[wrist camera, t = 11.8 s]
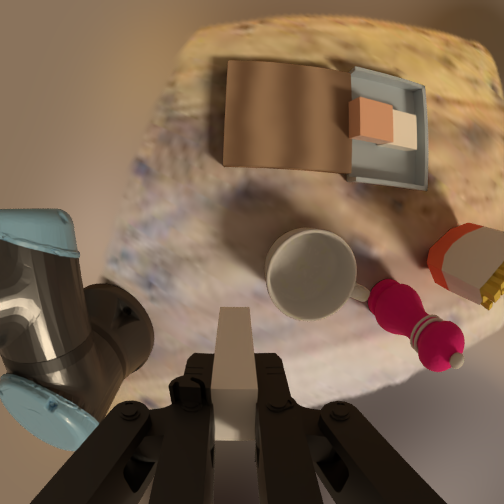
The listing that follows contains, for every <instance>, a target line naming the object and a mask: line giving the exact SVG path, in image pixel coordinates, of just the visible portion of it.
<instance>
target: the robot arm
mask: <svg viewBox="0 0 504 504" xmlns="http://www.w3.org/2000/svg"><path fill="white" fill-rule="evenodd" d="M79 257H80V252H79V251H78V250H77V244H76V238H75V231H74V224H73V221H72V219H71V217H70V215H69V214H68V213H67V212H65V211H63V210H61V209H0V355H1V357H2V359H3V363H4V365H5V367H6V370H7V373H6V374H3V375H2V376H1V378H0V399H1V401H2V402H3V404H4V406H5V407H6V409H7V410H8V411H9V413H10V414H11V415H12V416H13V417H14V419H15V420H16V421H17V422H18V423H19V424H20V425H22V426H23V427H24V428H25V429H27V430H28V431H29V432H30V433H32V434H33V435H34V436H36V437H37V438H39V439H40V440H42V441H44V442H46V443H48V444H50V445H52V446H55V447H57V448H60V449H64V450H68V451H75V452H74V454H73V455H72V456H71V457H70V458H69V459H68V460H67V462H66V463H65V464H64V465H63V466H62V467H61V468H60V469H59V471H58V472H57V473H56V474H55V475H54V476H53V477H52V479H51V480H50V481H49V482H48V483H47V484H46V486H45V487H44V488H43V489H42V490H41V491H40V493H39V494H38V495H37V496H36V497H35V498H34V499H33V500H32V502H31V503H30V504H138V503H139V501H140V499H141V498H142V496H143V494H144V493H145V491H146V489H147V487H148V486H149V484H150V482H151V481H152V479H153V477H154V481H153V486H152V490H151V495H150V500H149V504H213V491H214V468H215V444H214V443H215V440H235V441H236V440H237V441H238V440H239V441H242V440H255V439H256V449H255V462H256V465H257V478H258V490H259V501H260V504H323V500H322V496H321V492H320V489H319V485H318V481H317V477H316V473H317V475H318V477H319V478H320V480H321V481H322V483H323V484H324V486H325V488H326V489H327V491H328V492H329V494H330V495H331V497H332V498H333V500H334V501H335V503H336V504H447V503H446V502H445V501H444V500H443V499H442V498H441V497H440V496H439V495H438V494H437V493H436V492H435V491H434V490H433V489H432V488H431V487H430V486H429V485H428V484H427V483H426V482H425V481H424V480H423V479H422V478H421V477H420V475H418V473H417V472H416V471H415V470H414V469H413V468H412V467H411V466H410V465H409V464H408V463H407V462H406V461H405V460H404V459H403V458H402V457H401V456H400V454H399V453H398V452H397V451H396V450H395V449H394V448H393V447H392V446H391V445H390V444H389V443H388V442H387V441H386V440H385V439H384V437H382V435H381V434H380V433H379V432H378V431H377V430H376V429H375V428H374V427H373V426H372V424H371V423H370V422H369V421H368V420H367V419H366V418H365V417H364V416H363V415H362V413H361V412H360V411H359V410H358V409H357V408H356V407H355V406H353V405H352V404H350V403H347V402H343V401H334V402H330V403H328V404H326V405H324V407H323V408H322V409H321V410H316V409H310V408H305V407H302V406H300V405H298V404H297V403H296V401H295V400H294V399H293V398H292V397H291V395H290V391H289V387H288V383H287V379H286V375H285V371H284V368H283V363H282V359H281V358H280V357H279V356H278V355H277V354H276V353H254V348H253V338H252V329H251V319H250V309H249V307H220V313H219V321H218V329H217V338H216V346H215V354H205V353H194V354H193V355H192V356H190V357H189V358H188V360H187V364H186V368H185V372H184V375H183V376H180V377H177V378H175V379H174V380H172V381H171V383H170V384H169V391H170V397H171V402H172V404H171V405H170V406H167V407H164V408H160V409H152V410H149V409H148V408H147V407H146V405H145V404H143V403H141V402H138V401H124V402H122V403H119V404H117V405H116V406H115V407H114V408H113V409H112V410H111V411H110V412H109V413H108V415H107V416H106V414H107V412H108V410H109V408H110V406H111V404H112V402H113V400H114V398H115V396H116V394H117V392H118V390H119V388H120V386H121V384H122V382H123V380H124V379H125V378H126V377H128V376H129V375H130V374H131V373H133V372H135V371H137V370H138V369H140V368H141V367H142V366H143V365H144V364H145V362H146V361H147V359H148V357H149V355H150V353H151V351H152V349H153V345H154V330H153V326H152V323H151V320H150V318H149V316H148V314H147V312H146V311H145V309H144V308H143V307H142V305H141V304H140V303H139V302H138V301H137V300H136V299H135V298H134V297H133V296H132V295H130V294H129V293H127V292H126V291H124V290H122V289H120V288H118V287H116V286H113V285H109V284H93V285H89V286H87V287H85V288H84V289H83V284H82V278H81V271H80V265H79ZM105 416H106V417H105ZM315 472H316V473H315ZM154 475H155V476H154Z"/></svg>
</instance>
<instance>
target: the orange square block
mask: <svg viewBox="0 0 504 504" xmlns="http://www.w3.org/2000/svg"><path fill="white" fill-rule="evenodd" d="M348 103H349V139H355V140H361V141H366V142H372V143H377V144H386V143H392V142H393V105H389V104H386V103H382V102H378V101H375V100H371V99H367V98H363V97H358V98H356V99H354V100H352V101H350V102H348Z"/></svg>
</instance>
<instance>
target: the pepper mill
mask: <svg viewBox="0 0 504 504" xmlns="http://www.w3.org/2000/svg"><path fill="white" fill-rule="evenodd" d="M368 306H369V309H370V311H371V312H372V313H373V314H374V315H375V317H376V320H377V322H378V324H379V325H380V326H381V327H382V328H383V329H384V330H386V331H388V332H390V333H393V334H398V335H404V336H407V337H408V338H409V339H410V344H411V346H412V348H413V349H414V350H415V351H416V352H417V353H418V356H419V359H420V361H421V363H422V364H423V365H424V367H426V368H427V369H429V370H431V371H435V372H441V371H445V370H447V369H449V368H451V367H452V368H455V369H457V368H460V367H461V366H462V365H463V363H464V356H463V355H462V352H463V349H464V344H465V342H464V336H463V333H462V331H461V329H460V328H459V327H458V326H457V325H456V324H454V323H453V322H451V321H443V320H442V319H441V318H439V317H438V316H437V315H429V314H427V313H426V312H425V310H424V308H423V305H422V302H421V299H420V297H419V295H418V294H417V292H416V291H415V290H414V289H413V288H411V287H410V286H408V285H405V284H400V283H398V282H397V281H395V280H392V279H385V280H382V281H380V282H379V283H377V284H376V285H375V286H374V287H373V289H372V290H371V292H370V295H369V298H368Z"/></svg>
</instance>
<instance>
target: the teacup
mask: <svg viewBox="0 0 504 504" xmlns="http://www.w3.org/2000/svg"><path fill="white" fill-rule="evenodd" d="M356 277H357V264H356V260H355V256H354V254H353V252H352V250H351V248H350V247H349V245H348V244H347V243H346V242H345V241H344V240H343V239H342V238H341V237H339V236H338V235H336V234H334V233H332V232H330V231H327V230H322V229H315V228H298V229H294V230H291V231H289V232H287V233H285V234H283V235H282V236H281V237H279V238H278V239H277V240H276V241H275V242H274V244H273V245H272V246H271V248H270V250H269V252H268V254H267V257H266V260H265V279H266V285H267V290H268V293H269V295H270V298H271V300H272V301H273V303H274V304H275V306H276V307H277V308H278V309H279V310H280V311H281V312H282V313H283V314H285V315H286V316H289V317H290V318H293V319H295V320H299V321H307V322H308V321H318V320H321V319H324V318H327V317H329V316H331V315H332V314H334V313H336V312H337V311H338V310H339V309H340V308H341V307H342V306H343V305H344V304H345V303H346V301H347V300H348V299H349V297H351V298H354V299H356V300H358V301H361V302H365V301H367V299H368V298H369V295H370V291H369V290H368V289H367V288H365V287H364V286H362V285H360V284H358V283H356Z"/></svg>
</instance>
